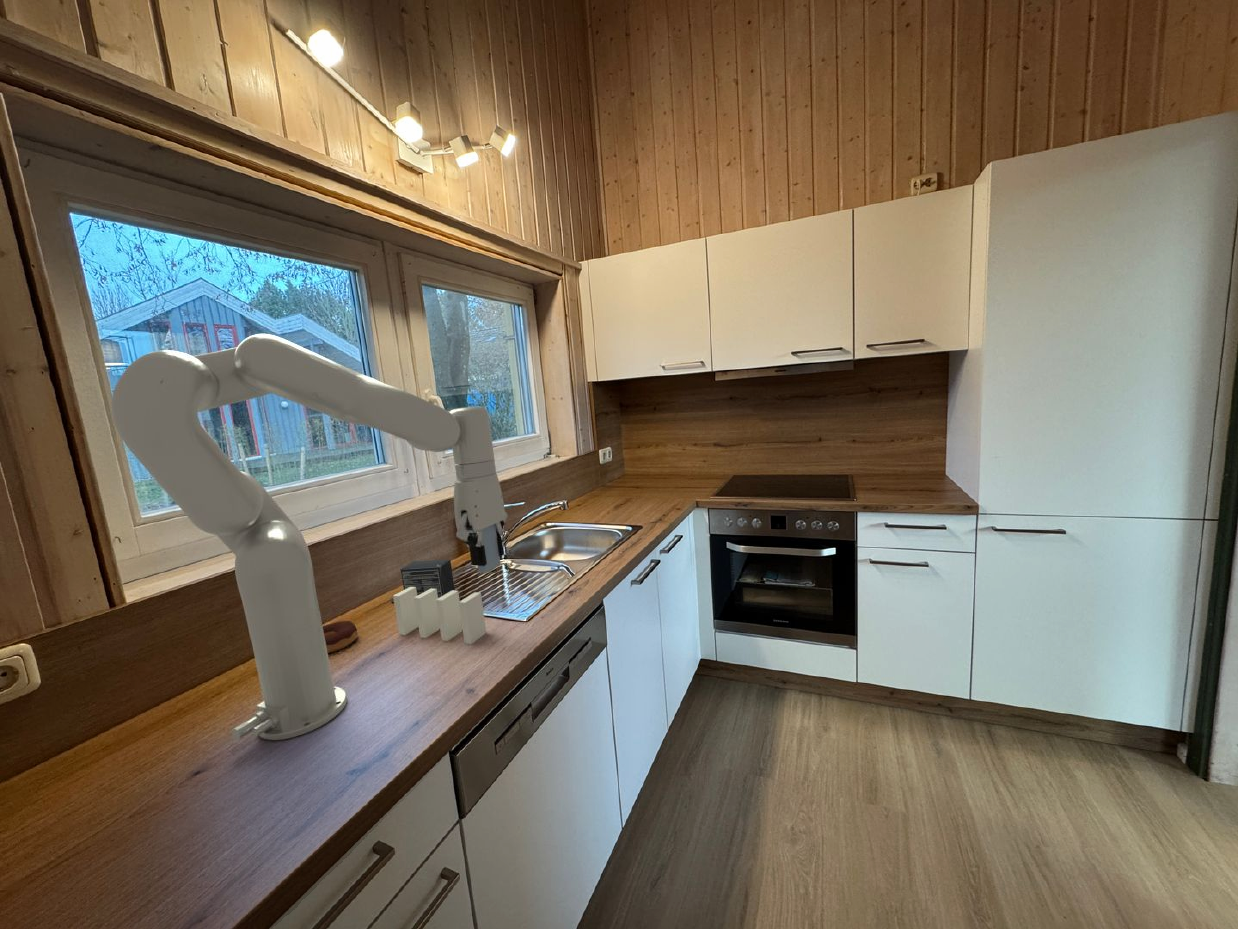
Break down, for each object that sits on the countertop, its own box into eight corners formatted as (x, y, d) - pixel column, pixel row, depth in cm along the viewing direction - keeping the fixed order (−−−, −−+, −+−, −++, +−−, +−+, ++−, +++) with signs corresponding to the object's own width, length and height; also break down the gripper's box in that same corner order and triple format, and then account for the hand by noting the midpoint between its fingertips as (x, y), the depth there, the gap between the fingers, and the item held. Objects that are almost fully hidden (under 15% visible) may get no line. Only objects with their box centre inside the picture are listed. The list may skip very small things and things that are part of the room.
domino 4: (486, 632, 106) (480, 592, 104) (471, 644, 101) (465, 602, 100) (480, 632, 106) (474, 592, 105) (464, 643, 102) (458, 602, 100)
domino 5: (478, 572, 97) (472, 528, 96) (494, 564, 102) (488, 521, 100) (485, 573, 96) (478, 528, 95) (500, 564, 101) (494, 521, 100)
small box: (457, 596, 127) (451, 557, 126) (446, 607, 121) (440, 566, 120) (418, 598, 129) (412, 560, 127) (405, 609, 122) (399, 569, 121)
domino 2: (442, 627, 110) (436, 589, 109) (425, 638, 106) (419, 598, 104) (436, 626, 111) (431, 588, 110) (420, 637, 106) (413, 597, 105)
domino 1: (421, 624, 113) (415, 587, 111) (404, 635, 108) (398, 596, 107) (416, 624, 113) (410, 586, 112) (399, 634, 109) (392, 595, 107)
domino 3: (463, 630, 108) (458, 590, 107) (448, 641, 103) (441, 600, 102) (458, 629, 108) (452, 590, 107) (442, 640, 104) (435, 599, 103)
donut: (295, 661, 101) (291, 643, 101) (319, 638, 111) (316, 621, 110) (346, 654, 102) (343, 636, 102) (366, 632, 112) (363, 615, 111)
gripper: (487, 464, 105) (498, 546, 108) (429, 479, 90) (443, 575, 93) (516, 462, 103) (527, 547, 105) (462, 478, 87) (476, 577, 90)
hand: (488, 559), depth 99 cm, fingers closed on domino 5, 4 cm apart
